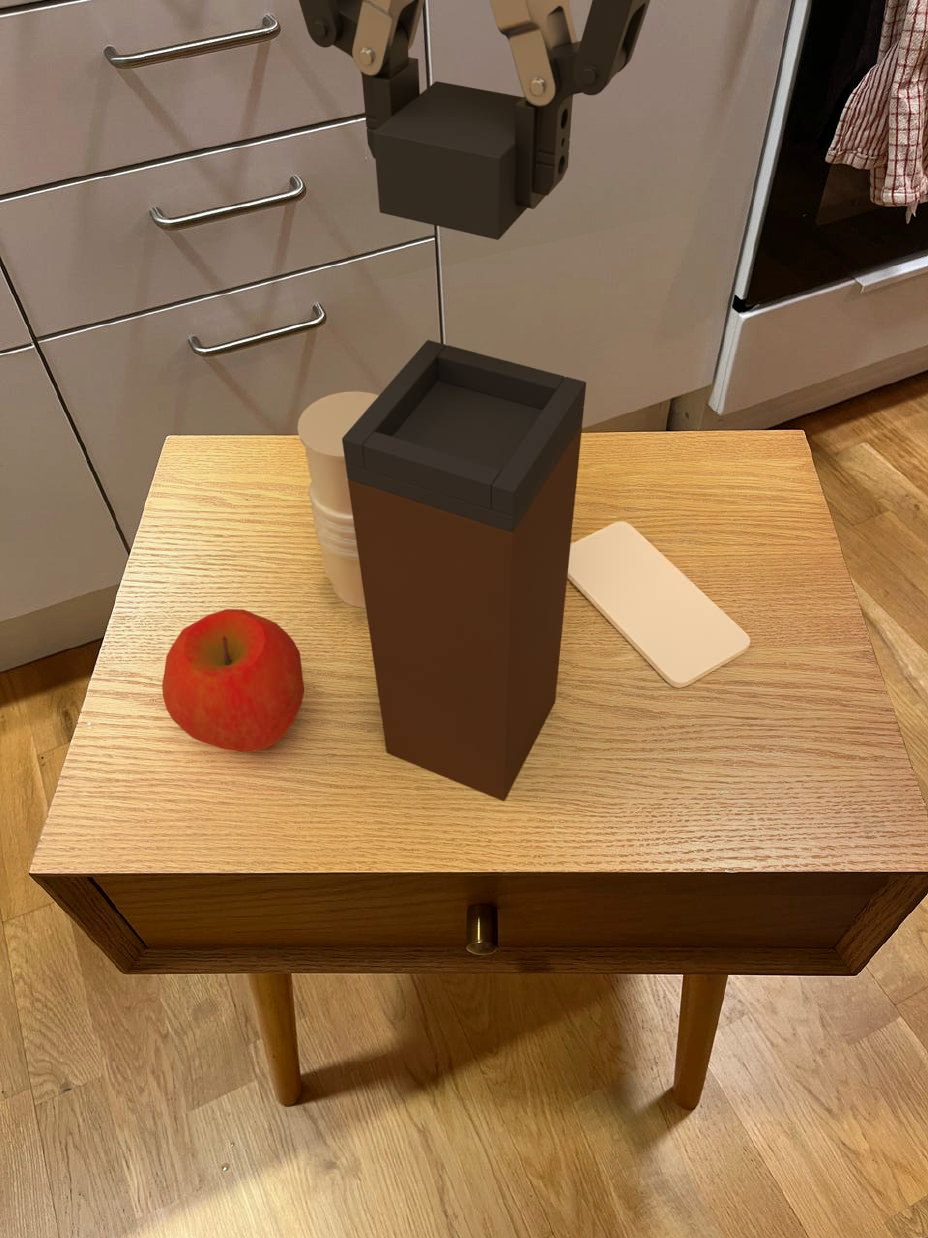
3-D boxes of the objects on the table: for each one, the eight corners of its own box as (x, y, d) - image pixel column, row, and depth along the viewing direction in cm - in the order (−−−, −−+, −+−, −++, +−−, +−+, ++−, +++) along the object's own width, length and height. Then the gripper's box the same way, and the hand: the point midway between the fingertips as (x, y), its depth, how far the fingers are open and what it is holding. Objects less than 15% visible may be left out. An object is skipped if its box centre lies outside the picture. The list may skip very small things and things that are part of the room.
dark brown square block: (551, 182, 38) (555, 102, 36) (498, 240, 35) (499, 157, 33) (438, 158, 39) (436, 80, 37) (379, 212, 37) (372, 131, 34)
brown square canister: (555, 702, 66) (587, 381, 46) (504, 802, 61) (514, 491, 41) (443, 660, 69) (427, 338, 49) (386, 753, 64) (341, 438, 44)
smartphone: (677, 687, 66) (549, 554, 74) (675, 693, 67) (549, 560, 75) (756, 641, 68) (624, 517, 77) (754, 648, 69) (623, 524, 77)
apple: (180, 795, 62) (133, 697, 54) (199, 688, 67) (159, 585, 59) (313, 789, 62) (287, 691, 54) (321, 684, 68) (298, 579, 59)
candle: (395, 536, 77) (380, 379, 65) (428, 595, 73) (417, 439, 61) (313, 562, 75) (283, 405, 64) (342, 624, 71) (314, 468, 60)
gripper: (132, -488, 24) (255, 190, 37) (693, -496, 20) (608, 272, 33) (295, -494, 28) (354, 114, 41) (783, -502, 24) (677, 178, 37)
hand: (466, 181), depth 37 cm, fingers closed on dark brown square block, 5 cm apart
